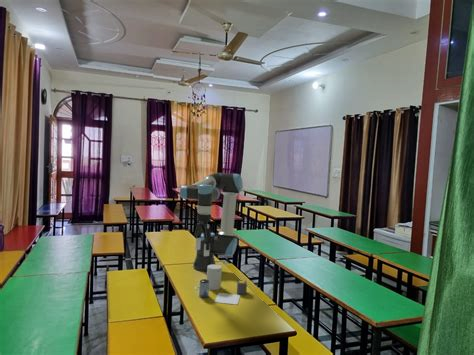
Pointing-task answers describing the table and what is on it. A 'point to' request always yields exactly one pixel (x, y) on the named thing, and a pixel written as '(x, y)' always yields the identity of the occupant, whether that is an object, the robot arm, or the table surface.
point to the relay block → (241, 287)
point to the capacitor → (204, 288)
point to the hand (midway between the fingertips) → (201, 252)
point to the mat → (227, 298)
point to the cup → (214, 276)
